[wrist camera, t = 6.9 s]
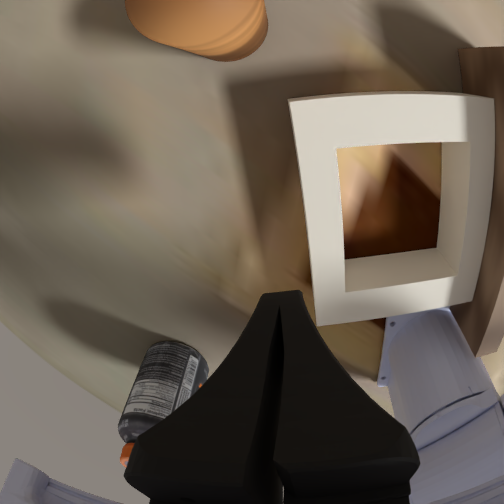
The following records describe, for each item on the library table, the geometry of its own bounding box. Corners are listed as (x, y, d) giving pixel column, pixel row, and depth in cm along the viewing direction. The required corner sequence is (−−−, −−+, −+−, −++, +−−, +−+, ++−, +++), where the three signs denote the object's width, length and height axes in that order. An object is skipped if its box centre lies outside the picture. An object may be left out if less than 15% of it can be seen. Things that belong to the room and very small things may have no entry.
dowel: (274, 54, 15) (271, 28, 8) (195, 69, 15) (136, 62, 8) (259, -15, 12) (245, -78, 6) (182, 3, 13) (118, -40, 6)
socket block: (452, 272, 20) (472, 301, 17) (312, 292, 22) (316, 326, 19) (462, 93, 14) (493, 98, 11) (287, 98, 16) (289, 102, 13)
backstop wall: (466, 300, 21) (496, 351, 16) (446, 304, 22) (475, 358, 17) (482, 52, 12) (543, 54, 7) (457, 48, 13) (518, 46, 7)
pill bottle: (195, 388, 29) (171, 490, 19) (140, 363, 28) (102, 463, 18) (220, 357, 26) (196, 477, 17) (157, 328, 25) (111, 445, 15)
